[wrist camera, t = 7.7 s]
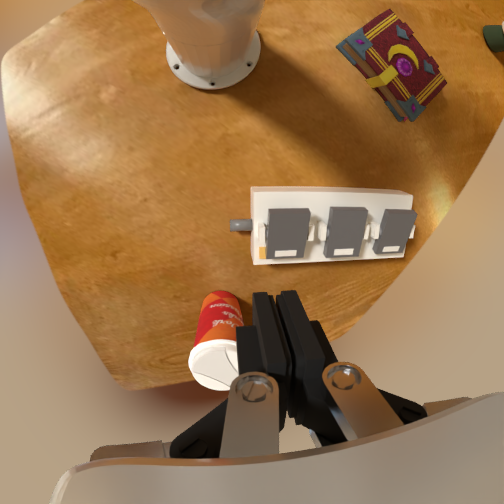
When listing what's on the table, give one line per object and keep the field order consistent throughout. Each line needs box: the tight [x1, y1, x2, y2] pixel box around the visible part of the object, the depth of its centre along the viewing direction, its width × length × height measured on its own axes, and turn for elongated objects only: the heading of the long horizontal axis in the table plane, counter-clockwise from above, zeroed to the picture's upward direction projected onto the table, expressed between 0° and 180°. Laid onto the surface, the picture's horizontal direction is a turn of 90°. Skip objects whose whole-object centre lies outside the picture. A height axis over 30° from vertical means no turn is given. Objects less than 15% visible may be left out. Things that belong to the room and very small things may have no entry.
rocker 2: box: [372, 209, 417, 254], centre depth 39 cm, size 7×5×2 cm
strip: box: [230, 186, 415, 265], centre depth 40 cm, size 10×27×6 cm, turn 90°
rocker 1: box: [265, 208, 311, 259], centre depth 37 cm, size 7×5×2 cm
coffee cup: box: [189, 291, 244, 390], centre depth 40 cm, size 8×8×15 cm
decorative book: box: [336, 9, 447, 122], centre depth 33 cm, size 11×16×5 cm
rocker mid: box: [323, 207, 368, 258], centre depth 38 cm, size 7×5×2 cm
